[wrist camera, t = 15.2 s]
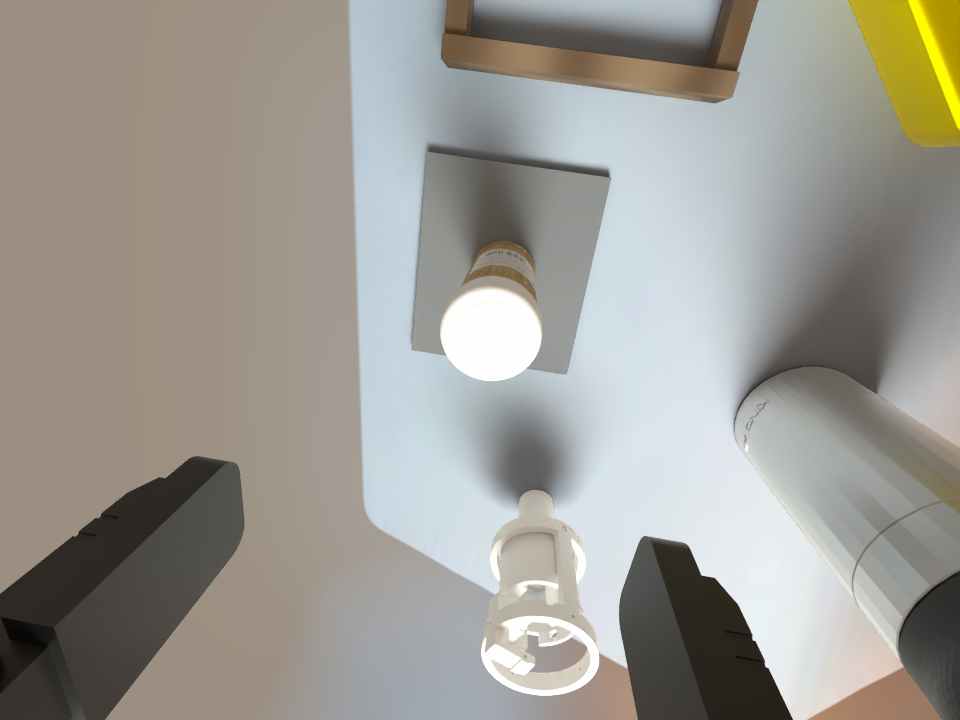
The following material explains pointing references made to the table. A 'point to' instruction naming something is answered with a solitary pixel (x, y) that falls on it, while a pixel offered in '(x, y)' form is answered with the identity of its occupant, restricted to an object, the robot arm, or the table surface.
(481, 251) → the sprinkles bottle
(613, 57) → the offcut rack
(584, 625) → the white pipe fitting
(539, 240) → the mat
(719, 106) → the table surface
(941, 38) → the element tile
